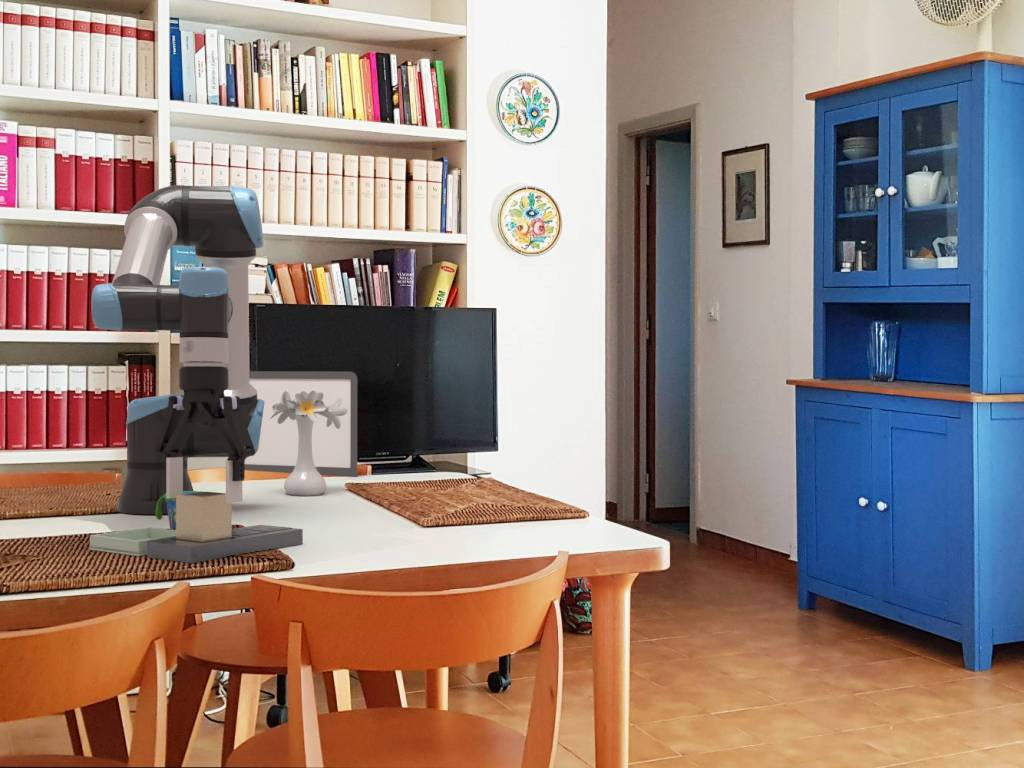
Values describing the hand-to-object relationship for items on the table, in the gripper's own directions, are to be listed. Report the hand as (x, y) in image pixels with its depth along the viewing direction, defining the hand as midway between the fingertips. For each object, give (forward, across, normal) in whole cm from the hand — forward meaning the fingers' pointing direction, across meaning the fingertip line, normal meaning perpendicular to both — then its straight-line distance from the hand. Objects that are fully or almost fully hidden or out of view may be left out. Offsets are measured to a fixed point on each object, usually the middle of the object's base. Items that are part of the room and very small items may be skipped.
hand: (203, 500), depth 185 cm
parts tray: (+8, -13, -1) cm, 16 cm away
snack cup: (+8, -20, +14) cm, 26 cm away
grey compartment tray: (+8, 0, +5) cm, 10 cm away
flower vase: (+8, -42, +67) cm, 79 cm away
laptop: (+8, -69, +81) cm, 107 cm away
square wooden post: (+8, 0, 0) cm, 8 cm away
